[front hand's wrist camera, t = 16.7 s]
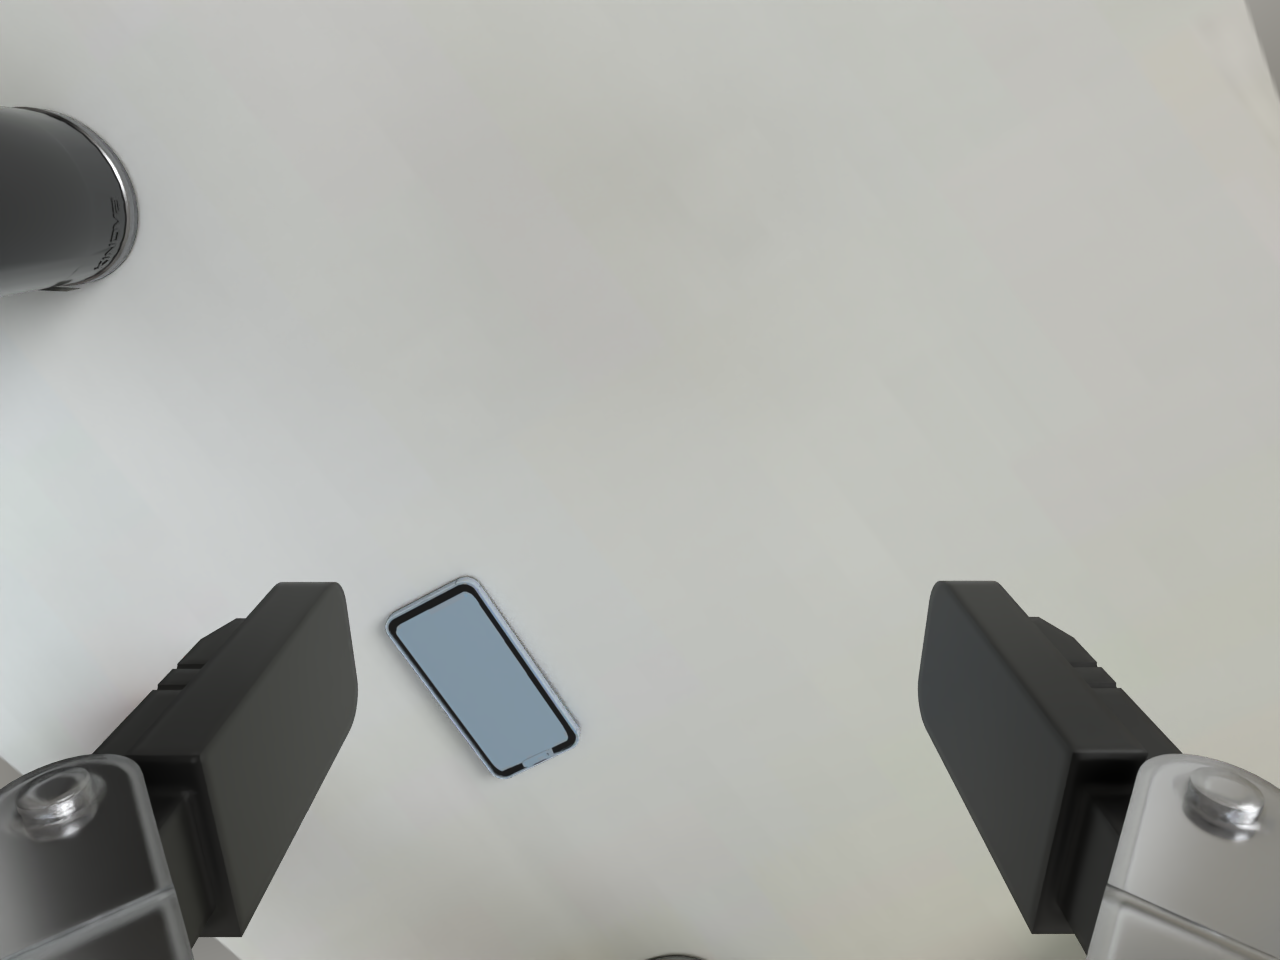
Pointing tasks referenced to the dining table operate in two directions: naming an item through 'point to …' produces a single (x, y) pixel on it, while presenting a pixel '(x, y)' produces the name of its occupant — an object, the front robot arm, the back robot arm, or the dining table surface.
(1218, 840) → the front robot arm
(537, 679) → the smartphone
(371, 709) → the dining table surface
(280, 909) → the dining table surface
